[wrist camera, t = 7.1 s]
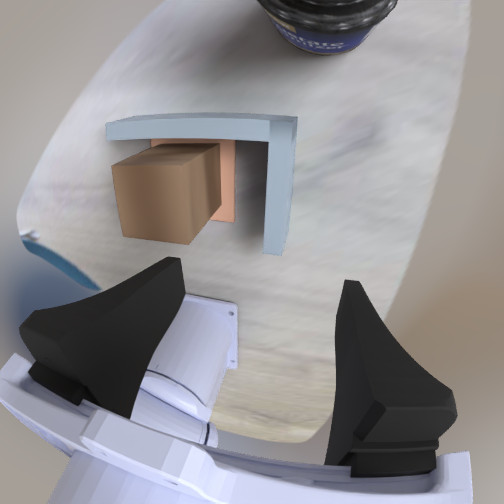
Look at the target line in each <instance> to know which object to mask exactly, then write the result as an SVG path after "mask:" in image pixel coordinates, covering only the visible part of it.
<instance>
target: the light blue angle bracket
mask: <svg viewBox="0 0 504 504" xmlns="http://www.w3.org/2000/svg"><path fill="white" fill-rule="evenodd" d="M105 126H106V138H107V141H111V140H128V139H151V148H152V147H154V146H157V145H159V144H165V143H220V164H221V200H222V205H221V206H220V207H219V208H218V210H217V211H216V212H215V213H214V214H213V216H212V217H211V218H210V219H209V220H218V221H226V222H234V221H235V149H236V140H251V141H265V142H269V148H268V169H267V189H266V208H265V226H264V244H263V254H270V255H277V256H282V254H283V250H284V246H285V242H286V238H287V234H288V229H289V218H290V208H291V196H292V185H293V173H294V160H295V147H296V132H297V117H291V116H279V115H264V114H244V113H178V114H158V115H144V116H133V117H129V118H125V119H121V120H117V121H113V122H110V123H106V124H105Z"/></svg>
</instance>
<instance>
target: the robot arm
mask: <svg viewBox="0 0 504 504" xmlns="http://www.w3.org/2000/svg"><path fill="white" fill-rule="evenodd" d="M230 311H231V312H233V313H231V312H230ZM19 330H20V335H21V338H22V340H23V341H24V343H25V345H26V346H27V348H28V349H29V351H30V352H31V354H32V355H33V357H34V358H35V360H36V362H35V363H34V364H33V365H32V364H31V363H30V362H29V361H28V360H26V359H25V358H23V357H22V356H20V355H19V354H17V353H14V354H13V355H12V357H11V358H10V359H9V361H8V362H7V363H6V364H5V365H4V367H3V368H2V369H1V370H0V402H1V403H2V404H3V405H4V406H5V407H6V408H7V409H8V410H9V411H10V412H11V413H12V414H13V415H14V416H15V417H16V418H17V419H18V420H19V421H21V422H22V423H23V424H25V425H26V426H27V427H28V428H30V429H31V430H32V431H34V432H35V433H36V434H37V435H39V436H40V437H41V438H43V439H44V440H45V441H47V442H48V443H50V444H51V445H52V446H54V447H55V448H57V449H58V450H59V451H61V452H62V453H64V454H65V455H67V456H68V457H70V458H71V459H70V461H69V463H68V464H67V466H66V468H65V470H64V472H63V474H62V475H61V477H60V479H59V481H58V483H57V485H56V487H55V488H54V490H53V492H52V494H51V496H50V498H49V500H48V502H47V504H473V493H472V477H471V466H470V457H469V451H461V452H455V453H448V454H443V455H440V456H437V457H436V454H435V450H437V449H438V447H439V441H438V438H439V437H440V436H441V435H442V434H443V433H445V432H446V431H447V430H448V429H449V428H450V427H451V426H452V424H453V423H454V422H455V421H456V418H457V410H456V404H455V399H454V396H453V392H452V390H451V389H449V388H448V387H447V386H445V385H444V384H442V383H441V382H440V381H438V380H437V379H436V378H434V377H433V376H432V375H431V374H429V373H428V372H427V371H426V370H424V368H422V367H421V366H420V365H419V364H418V363H417V362H416V361H415V360H414V359H413V358H412V357H411V356H410V355H409V354H408V353H407V352H406V351H405V350H404V349H403V348H402V346H401V345H400V344H399V343H398V342H397V341H396V339H395V338H394V337H393V336H392V334H391V333H390V332H389V330H388V329H387V327H386V326H385V324H384V323H383V321H382V320H381V318H380V317H379V315H378V313H377V312H376V310H375V308H374V307H373V305H372V303H371V302H370V300H369V298H368V296H367V294H366V292H365V291H364V289H363V287H362V285H361V283H360V282H359V281H353V280H345V281H344V286H343V290H342V294H341V299H340V303H339V307H338V311H337V315H336V327H335V355H336V392H335V402H334V410H333V418H332V425H331V431H330V437H329V444H328V449H327V454H326V458H325V463H324V465H316V464H306V463H296V462H288V461H281V460H274V459H268V458H262V457H256V456H251V455H245V454H241V453H236V452H232V451H227V450H223V449H219V448H217V445H218V434H217V431H216V426H215V425H214V423H212V422H209V418H210V416H211V413H212V408H213V406H214V403H215V401H216V398H217V395H218V393H219V390H220V387H221V384H222V382H223V379H224V376H225V373H226V371H227V368H230V369H236V368H237V366H238V308H237V305H236V304H234V303H231V302H225V301H220V300H214V299H209V298H204V297H199V296H194V295H189V294H186V292H185V286H184V279H183V273H182V266H181V259H180V258H175V257H166V258H164V259H162V260H161V261H159V262H157V263H155V264H154V265H152V266H150V267H148V268H147V269H145V270H143V271H142V272H140V273H138V274H136V275H135V276H133V277H131V278H129V279H127V280H126V281H124V282H122V283H120V284H118V285H116V286H114V287H112V288H110V289H108V290H106V291H104V292H101V293H99V294H97V295H94V296H92V297H88V298H86V299H83V300H80V301H77V302H74V303H70V304H67V305H62V306H58V307H54V308H48V309H42V310H35V311H34V312H33V313H32V314H31V315H30V316H29V317H28V318H27V319H26V320H25V321H24V322H23V323H22V325H21V326H20V327H19Z"/></svg>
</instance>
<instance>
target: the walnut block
mask: <svg viewBox="0 0 504 504" xmlns="http://www.w3.org/2000/svg"><path fill="white" fill-rule="evenodd" d="M111 167H112V174H113V181H114V188H115V194H116V200H117V206H118V211H119V217H120V222H121V227H122V232H123V237H130V238H138V239H146V240H154V241H162V242H170V243H178V244H186V245H189V244H190V243H191V241H192V240H193V239H194V238H195V236H196V235H197V234H198V233H199V231H200V230H201V229H202V228H203V227H204V225H205V224H206V223H207V222H208V220H209V219H210V218H211V217H212V216H213V214H214V213H215V212H216V211H217V210H218V208H219V207H220V206H221V205H222V200H221V164H220V143H165V144H159V145H157V146H154V147H152V148H150V149H147V150H145V151H143V152H141V153H138V154H136V155H134V156H132V157H129V158H127V159H125V160H123V161H121V162H119V163H116V164H114V165H112V166H111Z"/></svg>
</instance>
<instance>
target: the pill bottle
mask: <svg viewBox="0 0 504 504" xmlns="http://www.w3.org/2000/svg"><path fill="white" fill-rule="evenodd" d="M257 1H258V2H259V3H260V5H261V6H262V7H263V9H264V10H265V12H266V13H267V14H268V16H269V17H270V19H271V20H272V22H273V23H274V25H275V26H276V27H277V29H278V31H279V33H280V34H281V35H282V36H283V37H284V38H285V39H286V40H287V41H289V42H290V43H291V44H293V45H294V46H296V47H297V48H299V49H301V50H304V51H307V52H309V53H313V54H318V55H332V54H339V53H344V52H348V51H351V50H353V49H355V48H356V47H357V46H359V45H360V44H361V43H362V42H363V41H364V40H365V39H366V38H367V37H368V36H369V34H370V33H371V32H372V31H373V30H374V29H375V28H376V27H377V26H378V25H379V24H380V22H381V21H382V20H383V19H384V18H385V17H387V16H388V14H389V13H390V12H391V11H392V10H393V9H394V8H395V6H396V4H397V1H398V0H257Z"/></svg>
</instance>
